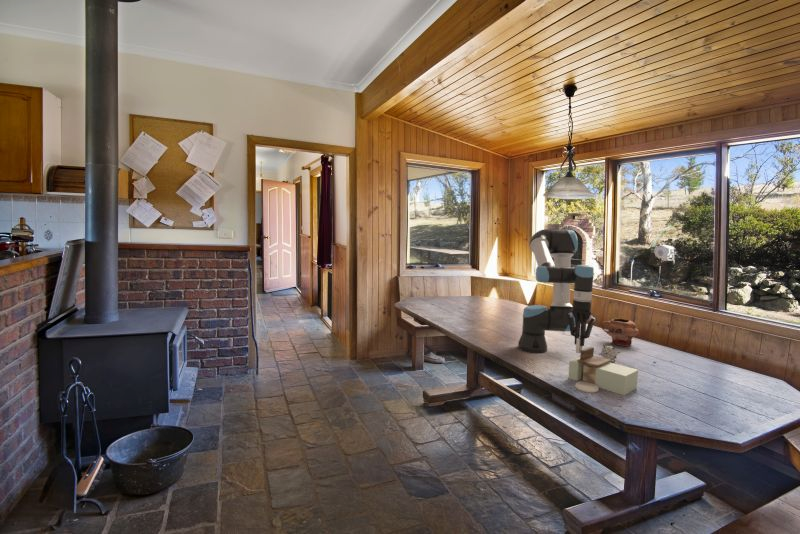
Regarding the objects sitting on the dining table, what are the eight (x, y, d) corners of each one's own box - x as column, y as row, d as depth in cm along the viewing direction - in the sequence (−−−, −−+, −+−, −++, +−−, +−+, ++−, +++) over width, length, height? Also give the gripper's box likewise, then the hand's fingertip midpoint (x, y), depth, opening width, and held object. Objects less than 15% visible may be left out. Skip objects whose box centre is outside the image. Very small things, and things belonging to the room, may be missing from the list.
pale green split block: (568, 378, 198) (569, 360, 197) (581, 372, 206) (583, 355, 205) (624, 395, 180) (625, 376, 179) (636, 388, 188) (638, 369, 187)
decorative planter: (596, 342, 256) (598, 318, 255) (602, 338, 266) (603, 315, 264) (635, 349, 244) (637, 324, 243) (639, 344, 254) (641, 320, 252)
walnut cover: (577, 362, 194) (577, 350, 194) (590, 356, 202) (591, 346, 202) (597, 367, 188) (598, 356, 187) (610, 362, 195) (611, 350, 195)
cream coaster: (571, 387, 187) (571, 384, 187) (581, 382, 193) (582, 380, 193) (592, 394, 180) (592, 391, 180) (602, 389, 186) (602, 386, 186)
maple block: (582, 380, 196) (583, 364, 195) (589, 377, 200) (590, 361, 199) (596, 384, 192) (597, 368, 191) (602, 381, 196) (603, 365, 195)
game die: (612, 369, 222) (623, 357, 216) (595, 362, 224) (605, 350, 217) (612, 356, 229) (623, 344, 222) (596, 349, 230) (606, 337, 223)
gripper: (564, 298, 200) (560, 350, 202) (592, 303, 190) (588, 357, 192) (572, 297, 205) (569, 347, 207) (600, 301, 195) (597, 354, 197)
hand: (578, 352), depth 200 cm, fingers closed
